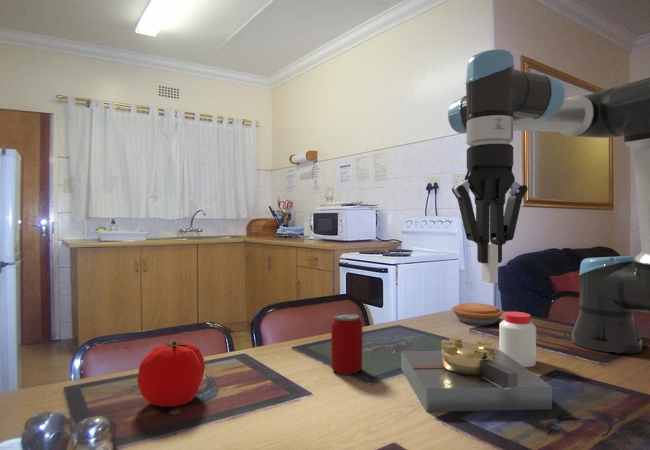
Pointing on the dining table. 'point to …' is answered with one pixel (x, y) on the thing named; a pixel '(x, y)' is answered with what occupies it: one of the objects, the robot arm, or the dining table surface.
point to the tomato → (171, 374)
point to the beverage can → (346, 343)
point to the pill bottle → (518, 338)
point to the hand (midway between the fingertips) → (489, 281)
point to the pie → (477, 313)
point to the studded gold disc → (476, 361)
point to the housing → (472, 386)
